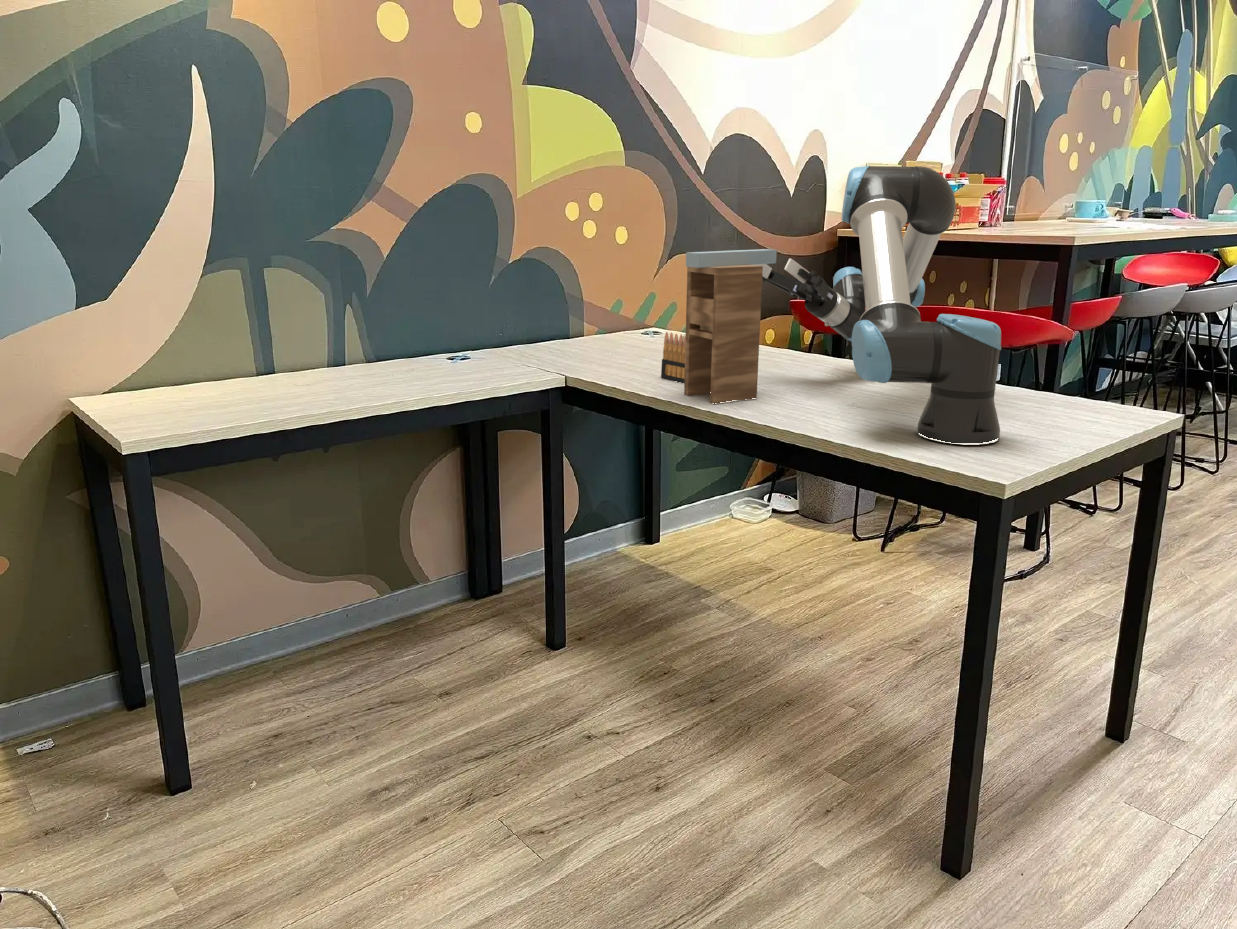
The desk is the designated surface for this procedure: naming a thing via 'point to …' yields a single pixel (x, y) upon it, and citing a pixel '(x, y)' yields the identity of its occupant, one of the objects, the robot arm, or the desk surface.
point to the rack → (723, 331)
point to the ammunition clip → (673, 358)
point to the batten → (730, 258)
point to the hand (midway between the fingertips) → (768, 261)
